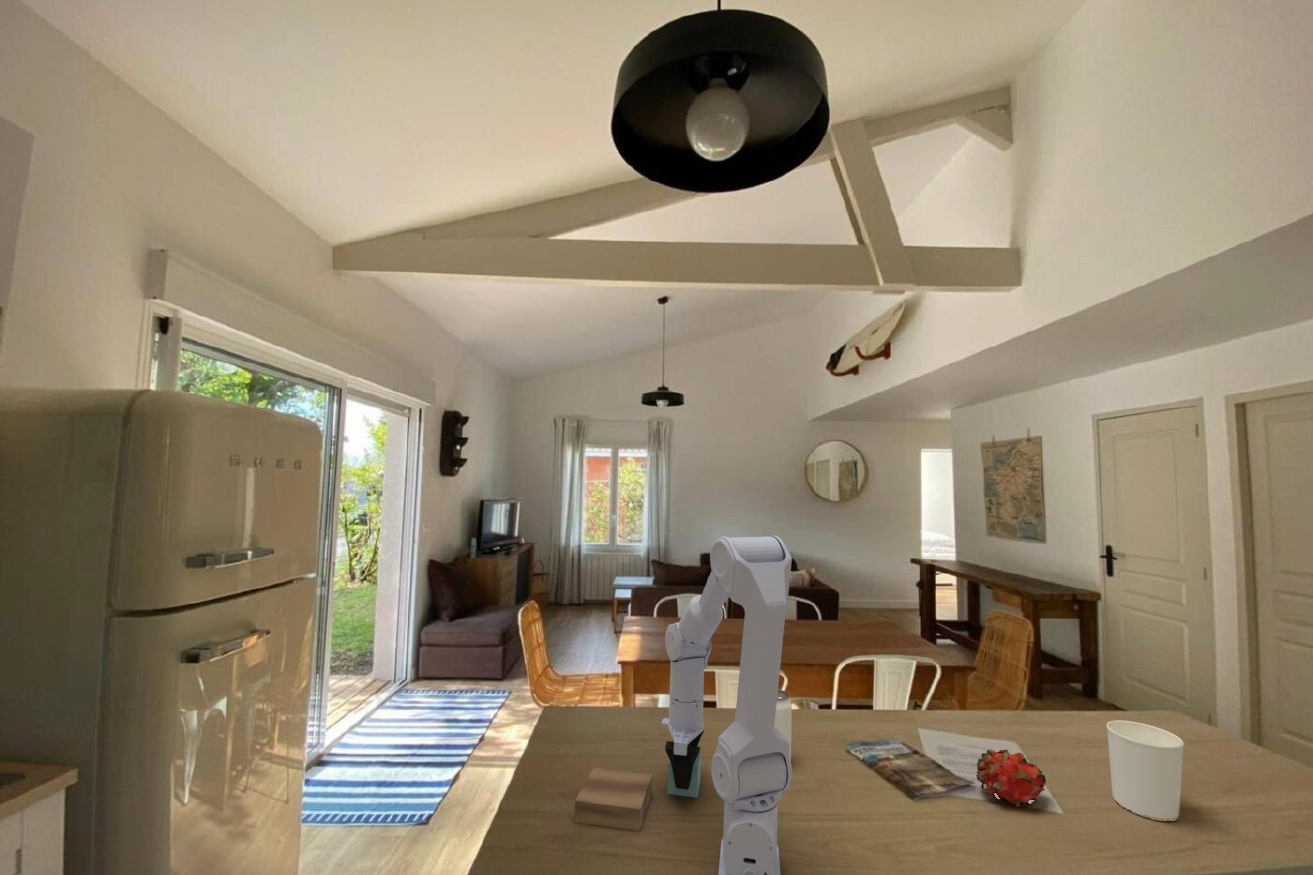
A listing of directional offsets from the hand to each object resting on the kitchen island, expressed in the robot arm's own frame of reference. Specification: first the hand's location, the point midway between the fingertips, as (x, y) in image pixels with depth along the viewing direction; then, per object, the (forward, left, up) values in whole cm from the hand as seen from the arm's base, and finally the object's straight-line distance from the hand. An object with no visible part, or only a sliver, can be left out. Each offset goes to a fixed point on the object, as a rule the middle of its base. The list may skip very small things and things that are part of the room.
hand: (684, 778), depth 97 cm
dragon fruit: (+9, -54, -2) cm, 55 cm away
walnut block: (-8, +10, -2) cm, 13 cm away
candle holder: (+11, -75, -2) cm, 76 cm away
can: (+13, -15, -2) cm, 20 cm away
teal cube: (0, 0, -1) cm, 1 cm away
